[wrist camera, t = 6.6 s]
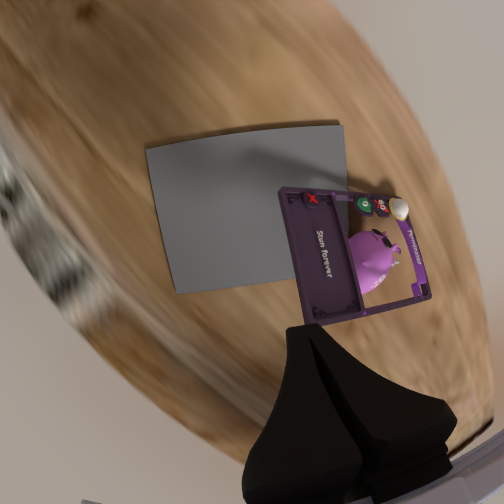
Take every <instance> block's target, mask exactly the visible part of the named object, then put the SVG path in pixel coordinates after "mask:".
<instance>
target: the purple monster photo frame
mask: <svg viewBox="0 0 504 504" xmlns="http://www.w3.org/2000/svg"><path fill="white" fill-rule="evenodd" d="M277 194H278V199H279V203H280V208H281V212H282V216H283V221H284V225H285V230H286V234H287V239H288V244H289V248H290V253H291V258H292V263H293V267H294V272H295V277H296V282H297V287H298V292H299V297H300V302H301V307H302V312H303V318H304V323H305V325H308V324H313V323H318V324H319V325H320V326H324V325H329V324H334V323H339V322H343V321H348V320H352V319H357V318H361V317H365V316H369V315H373V314H377V313H381V312H385V311H389V310H393V309H397V308H401V307H404V306H408V305H412V304H415V303H419V302H422V301H426V300H429V299H431V297H432V294H431V290H430V286H429V282H428V278H427V274H426V270H425V267H424V263H423V260H422V256H421V253H420V249H419V246H418V243H417V240H416V237H415V233H414V230H413V227H412V224H411V222H410V219H409V216H408V205H407V203H406V202H405V201H404V200H402V199H401V198H400V197H394V196H386V195H377V194H368V193H359V192H349V191H338V190H326V189H314V188H300V187H281V188H280V190H279V191H278V193H277ZM336 200H340V201H353V206H354V207H355V208H356V210H357V211H358V212H359V213H360V215H361V216H372V215H373V209H374V211H375V212H376V213H377V215H378V216H379V217H389V209H390V211H391V213H392V214H393V216H394V217H395V219H396V221H397V223H398V225H399V227H400V229H401V231H402V233H403V235H404V237H405V240H406V243H407V246H408V249H409V252H410V255H411V258H412V261H413V264H414V268H415V272H416V277H417V283H413V284H412V285H411V287H412V291H413V294H414V297H412V298H408V299H404V300H400V301H396V302H392V303H388V304H383V305H379V306H374V307H370V308H365V307H364V303H363V298H362V294H364V293H367V292H369V291H371V290H372V289H374V288H375V287H377V286H378V285H379V284H380V283H381V282H382V281H383V280H384V278H385V277H386V275H387V274H388V272H389V270H390V268H391V266H395V265H394V264H397V263H400V262H398V261H395V260H394V259H393V256H392V253H393V252H394V251H395V252H398V253H401V250H400V248H398V247H397V246H398V244H393V245H392V244H391V243H390V241H389V240H388V236H385V234H386V232H383V233H381V232H380V231H378V230H376V229H372V230H373V231H374V232H372V231H361V232H358V233H356V234H355V235H353V236H352V237H351V238H350V239H348V238H347V235H346V231H345V227H344V224H343V221H342V217H341V214H340V210H339V207H338V204H337V201H336ZM388 204H389V205H388ZM419 284H420V285H421V289H422V293H423V294H421V291H420V288H419ZM418 294H419V295H420V296H418Z"/></svg>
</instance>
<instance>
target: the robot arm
mask: <svg viewBox="0 0 504 504" xmlns="http://www.w3.org/2000/svg"><path fill="white" fill-rule="evenodd" d="M286 342H287V361H286V367H285V372H284V377H283V381H282V385H281V388H280V391H279V394H278V397H277V400H276V403H275V405H274V408H273V410H272V413H271V415H270V417H269V419H268V421H267V423H266V425H265V427H264V429H263V431H262V433H261V434H260V436H259V438H258V439H257V441H256V442H255V444H254V445H253V447H252V449H251V450H250V452H249V455H248V458H247V461H246V464H245V468H244V471H243V476H242V492H243V498H244V500H245V502H246V503H247V504H481V503H482V502H484V501H485V500H487V499H488V498H489V497H491V496H492V495H494V494H495V493H496V492H498V491H499V490H500V489H502V488H503V487H504V429H503V430H501V431H500V432H498V433H497V434H495V435H494V436H493V437H491V438H490V439H488V440H487V441H485V442H484V443H482V444H480V445H479V446H477V447H476V448H474V449H472V450H471V451H469V452H467V453H466V454H464V455H462V456H460V457H459V458H457V459H455V460H453V461H451V462H450V460H449V458H448V456H447V454H446V453H447V452H448V447H447V446H446V444H445V442H446V441H447V439H448V438H449V436H450V435H451V433H452V432H453V430H454V428H455V427H456V424H457V418H456V416H455V415H454V413H453V411H452V410H451V408H450V407H449V406H448V404H447V403H446V402H445V401H444V400H442V399H438V398H434V397H430V396H427V395H423V394H420V393H417V392H415V391H412V390H409V389H407V388H405V387H402V386H400V385H398V384H396V383H394V382H392V381H390V380H388V379H386V378H384V377H382V376H380V375H379V374H377V373H376V372H374V371H372V370H371V369H369V368H368V367H366V366H365V365H364V364H362V363H361V362H360V361H358V360H357V359H356V358H354V357H353V356H352V355H351V354H350V353H348V352H347V351H346V350H345V349H344V348H343V347H342V346H340V345H339V344H338V343H337V342H336V341H335V340H334V339H333V338H332V337H331V336H330V335H329V334H328V333H327V332H326V331H325V330H324V329H323V328H322V327H321V326H320V325H319V324H318V323H313V324H308V325H302V326H296V327H290V328H288V329H287V330H286ZM81 504H100V503H95V502H92V501H88V500H82V502H81Z"/></svg>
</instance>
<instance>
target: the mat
mask: <svg viewBox="0 0 504 504" xmlns="http://www.w3.org/2000/svg"><path fill="white" fill-rule="evenodd" d="M146 155H147V161H148V167H149V173H150V178H151V184H152V189H153V194H154V199H155V204H156V209H157V214H158V218H159V223H160V228H161V232H162V237H163V241H164V245H165V249H166V254H167V258H168V262H169V266H170V270H171V274H172V278H173V281H174V285H175V289H176V293H177V294H184V293H192V292H200V291H208V290H216V289H224V288H231V287H238V286H246V285H253V284H260V283H267V282H274V281H280V280H287V279H294V278H296V277H295V272H294V267H293V263H292V258H291V253H290V248H289V244H288V239H287V234H286V230H285V225H284V221H283V216H282V212H281V208H280V203H279V199H278V194H277V193H278V191H279V190H280V188H281V187H300V188H314V189H326V190H338V191H348V190H347V170H346V155H345V142H344V130H343V125H329V126H308V127H293V128H281V129H270V130H260V131H251V132H243V133H235V134H228V135H221V136H214V137H208V138H202V139H196V140H190V141H184V142H179V143H174V144H169V145H164V146H159V147H155V148H150V149H146ZM336 201H337V204H338V207H339V210H340V214H341V217H342V221H343V224H344V227H345V231H346V235H347V238H348V239H349V234H348V201H340V200H336Z"/></svg>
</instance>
